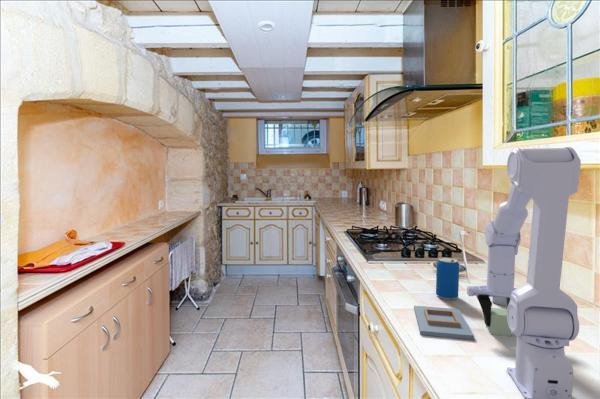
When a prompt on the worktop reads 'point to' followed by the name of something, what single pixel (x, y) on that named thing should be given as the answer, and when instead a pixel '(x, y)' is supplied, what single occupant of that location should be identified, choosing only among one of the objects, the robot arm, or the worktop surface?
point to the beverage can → (447, 278)
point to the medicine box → (500, 300)
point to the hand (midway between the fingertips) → (498, 325)
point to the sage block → (499, 322)
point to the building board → (442, 322)
